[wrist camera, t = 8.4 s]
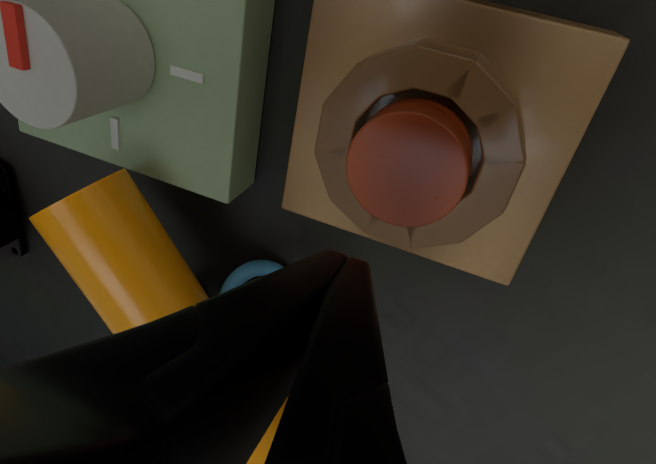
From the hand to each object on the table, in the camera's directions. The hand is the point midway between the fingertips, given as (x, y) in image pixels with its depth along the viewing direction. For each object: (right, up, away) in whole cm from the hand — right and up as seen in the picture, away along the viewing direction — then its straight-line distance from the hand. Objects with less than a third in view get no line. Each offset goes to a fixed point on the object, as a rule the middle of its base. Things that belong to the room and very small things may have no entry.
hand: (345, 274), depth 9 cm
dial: (-9, +8, +9) cm, 15 cm away
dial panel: (-8, +9, +11) cm, 17 cm away
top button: (+2, +3, +6) cm, 7 cm away
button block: (+4, +5, +9) cm, 11 cm away
